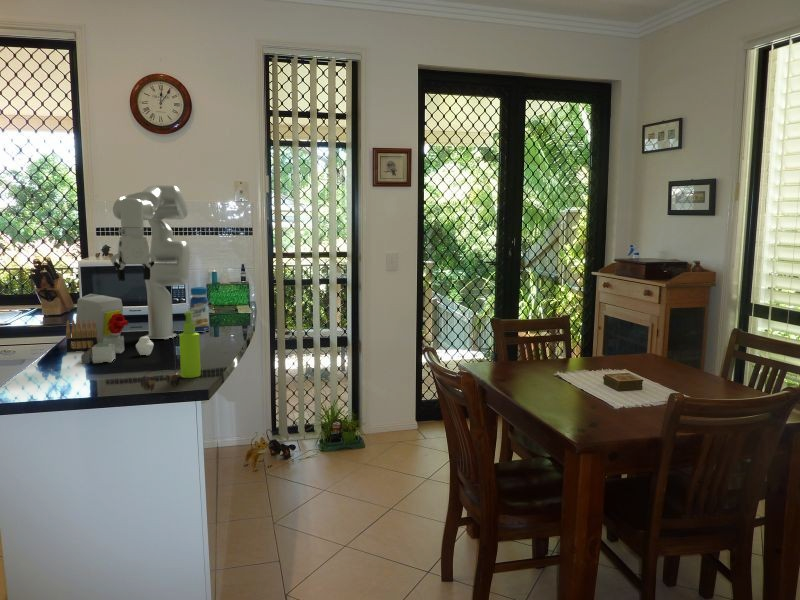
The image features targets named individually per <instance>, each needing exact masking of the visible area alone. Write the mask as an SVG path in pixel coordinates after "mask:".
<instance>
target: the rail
mask: <svg viewBox="0 0 800 600" xmlns="http://www.w3.org/2000/svg"><path fill="white" fill-rule="evenodd" d="M124 351H125V338H124V335H121V334H120V335H108V336H107V337H105V338H104V339H103V343H97V344H96V345H94V346H93V347H92V348H90V349H89V350H88V351H84V352H83V354H81V355H80V357H81V358H80V360H81V365H88V364H89V363H90V362H91V363H92V364H100V363H101V364H103V362H108V363H113V362H114V361H115V360H116V354H122V353H123V352H124ZM114 359H115V360H114ZM113 360H114V361H113ZM112 361H113V362H112ZM83 363H84V364H83ZM86 363H87V364H86ZM91 363H90V364H91Z"/></svg>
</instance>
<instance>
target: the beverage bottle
mask: <svg viewBox="0 0 800 600" xmlns="http://www.w3.org/2000/svg"><path fill="white" fill-rule="evenodd" d="M207 290H208V289H207V287H205V286H196V287H191V288H190V295H191V296H192V297H191V298H190V301H189V305H190V307H189V311H195V313H192V321H193V322H194V323H195V331H205V330H209V329H210V330H211V328H210V306H209V303H210V302H209V299H208V297H207V296H206V295H207V293H208V291H207Z"/></svg>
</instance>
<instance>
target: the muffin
mask: <svg viewBox="0 0 800 600" xmlns="http://www.w3.org/2000/svg"><path fill="white" fill-rule="evenodd" d="M154 346H155V345H154V342H153V341H152V340H150V338H149V337H147V336H146V335H144V336H140V337H139V338H138V342H137V343H136V344H135V348H136V351H137V352H138V354H139V355H140V356H141V355H146V356H150V355H151V353H152V352H153V349H154Z"/></svg>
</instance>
